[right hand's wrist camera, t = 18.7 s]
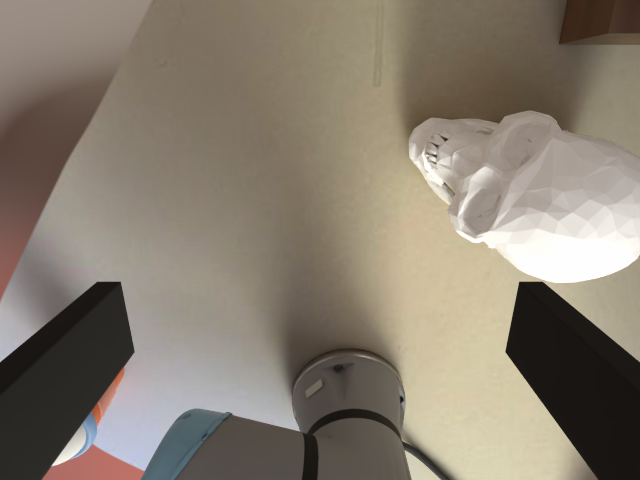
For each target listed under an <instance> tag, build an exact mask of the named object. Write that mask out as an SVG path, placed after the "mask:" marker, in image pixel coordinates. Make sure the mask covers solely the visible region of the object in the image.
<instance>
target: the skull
mask: <svg viewBox="0 0 640 480" xmlns="http://www.w3.org/2000/svg"><path fill="white" fill-rule="evenodd" d="M476 132H479V133H476ZM483 133H484V134H483ZM485 134H489V135H485ZM441 136H442V137H445V138H447V139H448V140H447V141H446V142H445V141H444V140H443V139H442V138H441ZM432 143H434V144H437V145H439V146H438V148H437V147H436V146H434V145H433V144H432ZM408 150H409V158H410V159H411V160H412V161H413V162H414V164H415V165H416V166H417V167H418V168H419V170H420V171H421V172H422V174H423V176H424V178H425V179H426V181H427V183H428V185H429V186H430V187H431V188H432V190H433V191H434V192H435V193H436V194H437V195H438V196H439V197H440V198H441V199H443V200H444V201H445V202H447V203H448V204H449V205H450V206H449V208H448V209H447V211H448V214H449V216H450V219H451V222H452V225H453V226H454V228H455V230H456V231H457V232H458V233H459V234H460V235H461V236H463V237H464V238H466V239H468V240H470V241H471V242H474V243H479V242H481V241H484V242H485V243H486V244H487V246H488V247H490V248H496V249H497V250H498V251H499V252H500V254H501V255H502V256H503V257H505V258H506V259H507V260H508V261H509V262H511V263H512V264H513V265H514V266H515V267H517V268H518V269H519V270H521V271H523V272H524V273H527V274H529V275H532V276H535V277H537V278H540V279H543V280H546V281H551V282H556V283H563V282H579V281H584V280H590V279H596V278H599V277H603V276H606V275H609V274H611V273H614V272H616V271H619V270H621V269H623V268H625V267H627V266H628V265H630V264H631V263H632V262H633V261H635V260H636V259H637V258H638V256H639V254H640V159H639V158H638V157H636V156H635V155H633V154H632V153H630V152H629V151H627V150H626V149H624V148H622V147H621V146H619V145H618V144H616V143H615V142H612V141H608V140H604V139H600V138H596V137H591V136H586V135H579V134H573V133H570V132H569V131H567V130H563V131H562V130H561V128H560V127H559V125H558V124H557V121H556V120H555V119H554V118H553V117H551V116H550V115H547V114H544V113H539V112H535V111H531V110H530V111H524V112H519V113H515V114H512V115H508V116H505V117H504V118H503V120H502V121H501V122H500V124H499V123H495V122H490V121H486V120H481V119H468V118H466V119H455V120H448V119H442V118H430V119H428V120H426V121H425V122H423V123H422V124H420V125H419V126H417V127H416V128H415V129H414V130H413V132H412V134H411V136H410V138H409V143H408ZM430 154H435V155H437V158H436V157H434V156H432V155H430ZM433 161H434V162H437V164H434V162H433ZM444 182H445V183H446V184H447V185H448V187H447V186H446V185H445V184H444ZM449 187H450V188H451V189H453V190H454V191H455V194H454V193H453V192H452V191H451V189H450V188H449Z"/></svg>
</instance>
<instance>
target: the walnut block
mask: <svg viewBox="0 0 640 480" xmlns="http://www.w3.org/2000/svg"><path fill="white" fill-rule="evenodd" d="M559 44H638V45H640V0H568V2H567V7H566V12H565V17H564V23H563V28H562V33H561V38H560V43H559Z"/></svg>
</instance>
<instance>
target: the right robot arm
mask: <svg viewBox="0 0 640 480" xmlns="http://www.w3.org/2000/svg"><path fill="white" fill-rule="evenodd" d="M133 353H134V347H133V341H132V336H131V331H130V326H129V321H128V316H127V311H126V306H125V301H124V296H123V291H122V286H121V282H97V283H95V284H94V285H93V286H92V287H91V288H89V289H88V290H87V291H86V292H84V293H83V294H82V295H81V296H80V297H78V298H77V299H76V300H75V301H74V302H72V303H71V304H70V305H69V306H68V307H66V308H65V309H64V310H63V311H62V312H60V313H59V314H58V315H57V316H56V317H54V318H53V319H52V320H51V321H49V322H48V323H47V324H46V325H45V326H43V327H42V328H41V329H40V330H39V331H37V332H36V333H35V334H34V335H33V336H31V337H30V338H29V339H28V340H27V341H25V342H24V343H23V344H22V345H21V346H19V347H18V348H17V349H16V350H15V351H13V352H12V353H11V354H10V355H8V356H7V357H6V358H5V359H4V360H2V361H1V362H0V480H42V478H43V477H44V476H45V474H46V473H47V472H48V470H49V469H50V467H51V466H52V465H53V463H54V462H55V461H56V459H57V458H58V456H59V455H60V454H61V452H62V451H63V450H64V448H65V447H66V445H67V444H68V443H69V441H70V440H71V439H72V437H73V436H74V434H75V433H76V432H77V430H78V429H79V428H80V426H81V425H82V423H83V422H84V421H85V419H86V418H87V417H88V415H89V414H90V412H91V411H92V410H93V408H94V407H95V406H96V404H97V403H98V402H99V400H100V399H101V397H102V396H103V395H104V393H105V392H106V391H107V389H108V388H109V386H110V385H111V384H112V382H113V381H114V380H115V378H116V377H117V375H118V374H119V373H120V371H121V370H122V369H123V367H124V366H125V364H126V363H127V362H128V360H129V359H130V358H131V356H132V355H133ZM506 353H507V355H508V356H509V358H510V359H511V360H512V362H513V363H514V364H515V366H516V367H517V369H518V370H519V371H520V373H521V374H522V375H523V377H524V378H525V380H526V381H527V382H528V384H529V385H530V386H531V388H532V389H533V391H534V392H535V393H536V395H537V396H538V397H539V399H540V400H541V402H542V403H543V404H544V406H545V407H546V408H547V410H548V411H549V412H550V414H551V415H552V417H553V418H554V419H555V421H556V422H557V423H558V425H559V426H560V428H561V429H562V430H563V432H564V433H565V434H566V436H567V437H568V439H569V440H570V441H571V443H572V444H573V445H574V447H575V448H576V450H577V451H578V452H579V454H580V455H581V456H582V458H583V459H584V461H585V462H586V463H587V465H588V466H589V467H590V469H591V470H592V472H593V473H594V474H595V476H596V477H597V478H598V480H640V362H639V361H638V360H636V359H635V358H634V357H633V356H632V355H630V354H629V353H628V352H627V351H625V350H624V349H623V348H622V347H621V346H619V345H618V344H617V343H616V342H615V341H613V340H612V339H611V338H610V337H609V336H607V335H606V334H605V333H604V332H603V331H601V330H600V329H599V328H598V327H597V326H595V325H594V324H593V323H592V322H591V321H589V320H588V319H587V318H586V317H584V316H583V315H582V314H581V313H580V312H578V311H577V310H576V309H575V308H574V307H572V306H571V305H570V304H569V303H568V302H566V301H565V300H564V299H563V298H562V297H560V296H559V295H558V294H557V293H556V292H554V291H553V290H552V289H551V288H549V287H548V286H547V285H546V284H545V283H543V282H519V286H518V291H517V296H516V301H515V306H514V311H513V316H512V321H511V326H510V331H509V336H508V341H507V347H506ZM292 406H293V412H294V416H295V419H296V422H297V424H298V426H299V429H300V432H299V431H295V430H291V429H287V428H283V427H279V426H274V425H270V424H266V423H262V422H258V421H254V420H250V419H246V418H241V417H238V416H234V415H232V413H230V412H226V413H220V412H214V411H209V410H203V409H191V410H189V411H186V412H185V413H183V414H182V415H181V416H179V417H178V418H177V420H176V421H175V422H174V423H173V425H172V426H171V427H170V429H169V430H168V432H167V433H166V435H165V436H164V438H163V439H162V441H161V443H160V445H159V446H158V448H157V450H156V451H155V453H154V455H153V457H152V459H151V461H150V462H149V464H148V466H147V468H146V470H145V472H144V474H143V476H142V478H141V480H412V479H411V475H410V471H409V467H408V463H407V459H406V455H405V451H404V450H406V451H408V452H409V453H411V454H412V455H414V456H415V457H416V458H418V459H419V460H420V461H421V462H423V463H424V464H425V465H426V466H427V467H428V468H429V469H430V470H432V471H433V472H434V473H435V474H436V475H437V476H438V477H439V478H440V479H441V480H450V479H449V478H448V477H447V476H446V475H445V474H443V473H442V472H441V471H440V470H439V469H438V468H437V467H436V466H435V465H434V464H433V463H432V462H431V461H430V460H429V459H427V458H426V457H425V456H424V455H423V454H422V453H420V452H419V451H418V450H416V449H415V448H414V447H412V446H411V445H409V444H407V443H405V442H403V441H402V439H401V432H402V426H403V419H404V412H405V392H404V388H403V385H402V381H401V379H400V376H399V375H398V373H397V371H396V370H395V369H394V367H393V366H392V365H391V364H390V363H388V362H387V361H386V360H385V359H383V358H381V357H380V356H378V355H376V354H373V353H370V352H367V351H363V350H356V349H343V350H336V351H332V352H328V353H325V354H323V355H321V356H319V357H317V358H315V359H314V360H312V361H311V362H310V363H308V364H307V365H306V366H305V367H304V368H303V369H302V371H301V372H300V373H299V375H298V377H297V379H296V381H295V384H294V388H293V397H292Z"/></svg>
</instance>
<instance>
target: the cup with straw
mask: <svg viewBox="0 0 640 480" xmlns="http://www.w3.org/2000/svg"><path fill="white" fill-rule="evenodd" d="M123 374H124V367H123V369H122V370H121V371H120V373H119V374H118V375H117V377H116V378H115V380H114V381H113V382H112V384H111V385H110V386H109V388H108V389H107V391H106V392H105V393H104V395H103V396H102V397H101V399H100V400H99V402H98V403H97V404H96V406H95V407H94V408H93V410H92V411H91V412H90V414H89V415H88V417H87V418H86V419H85V421H84V422H83V423H82V425H81V426H80V428H79V429H78V430H77V432H76V433H75V434H74V436H73V437H72V439H71V440H70V441H69V443H68V444H67V445H66V447H65V448H64V450H63V451H62V452H61V454H60V455H59V456H58V458H57V459H56V461H55V462H54V463H53V465H52V466H54V465H58V464H60V463H63V462H65V461H67V460H69V459H72V458H75V457H78V456H79V455H81V454H83V453H84V452H85V451H86V450H87V449H88V448H89V447H90V446H91V445H92V443H93V441H94V440H95V437H96V433H97V426H98V424H99V423H100V421H101V419H102V417H103V416H104V414H105V412H106V410H107V408H108V406H109V404H110V403H111V401H112V399H113V397H114V395H115V393H116V388H117V387H118V385H119V383H120V381H121V379H122V377H123Z"/></svg>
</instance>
